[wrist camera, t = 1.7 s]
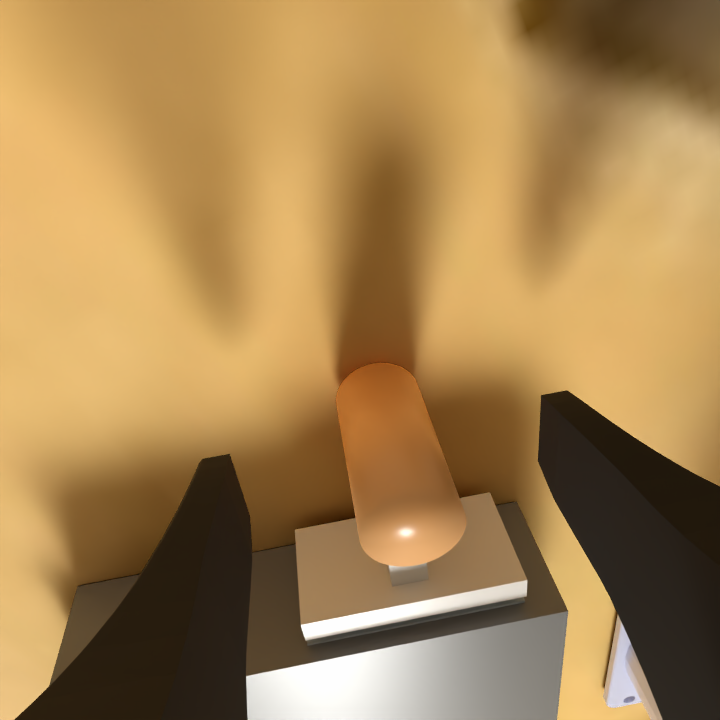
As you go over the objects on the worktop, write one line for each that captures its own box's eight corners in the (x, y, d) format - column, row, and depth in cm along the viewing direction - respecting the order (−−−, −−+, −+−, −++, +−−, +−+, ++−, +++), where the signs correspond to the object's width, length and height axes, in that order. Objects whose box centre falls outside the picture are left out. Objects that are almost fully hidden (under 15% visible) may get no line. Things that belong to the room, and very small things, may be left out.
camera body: (516, 499, 20) (568, 609, 17) (513, 628, 24) (554, 738, 21) (44, 591, 19) (-1, 724, 16) (121, 708, 23) (98, 834, 20)
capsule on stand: (487, 340, 16) (560, 462, 12) (489, 508, 19) (546, 644, 16) (255, 382, 16) (253, 521, 12) (298, 545, 19) (308, 692, 15)
